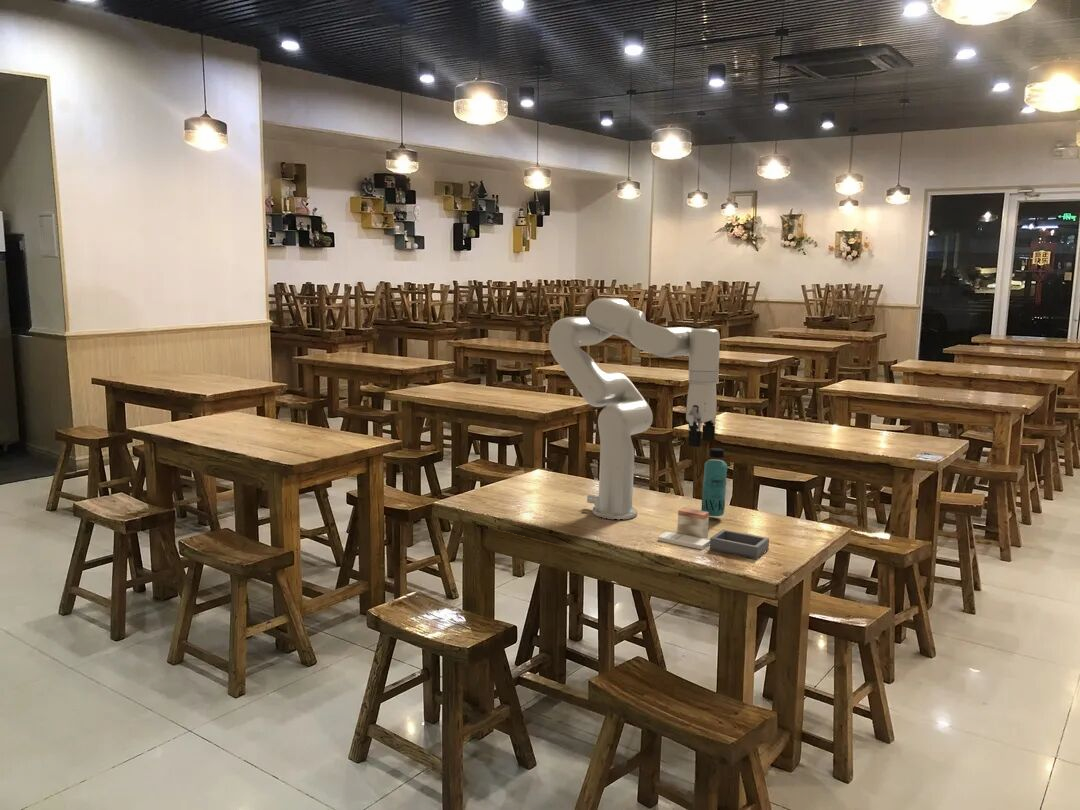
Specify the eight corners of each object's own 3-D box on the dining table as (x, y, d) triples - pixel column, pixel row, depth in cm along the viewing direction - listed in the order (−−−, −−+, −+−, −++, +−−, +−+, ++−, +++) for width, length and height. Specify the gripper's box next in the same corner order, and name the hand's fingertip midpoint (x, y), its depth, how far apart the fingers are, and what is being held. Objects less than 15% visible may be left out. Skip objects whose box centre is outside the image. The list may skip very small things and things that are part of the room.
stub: (676, 536, 222) (678, 510, 221) (682, 533, 225) (683, 507, 224) (702, 541, 219) (703, 515, 217) (707, 538, 221) (709, 512, 220)
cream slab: (657, 540, 218) (658, 536, 218) (667, 534, 223) (667, 530, 223) (702, 549, 212) (702, 545, 212) (711, 543, 217) (711, 539, 217)
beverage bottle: (696, 516, 241) (700, 446, 238) (716, 514, 243) (720, 445, 240) (708, 522, 235) (712, 451, 232) (729, 520, 237) (733, 450, 234)
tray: (709, 549, 212) (710, 538, 212) (722, 540, 220) (723, 529, 219) (756, 559, 206) (757, 547, 205) (768, 549, 213) (769, 538, 213)
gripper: (701, 373, 227) (700, 437, 229) (676, 379, 212) (675, 447, 215) (729, 375, 223) (727, 439, 225) (705, 381, 208) (703, 450, 211)
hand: (701, 443), depth 220 cm, fingers open, 9 cm apart
